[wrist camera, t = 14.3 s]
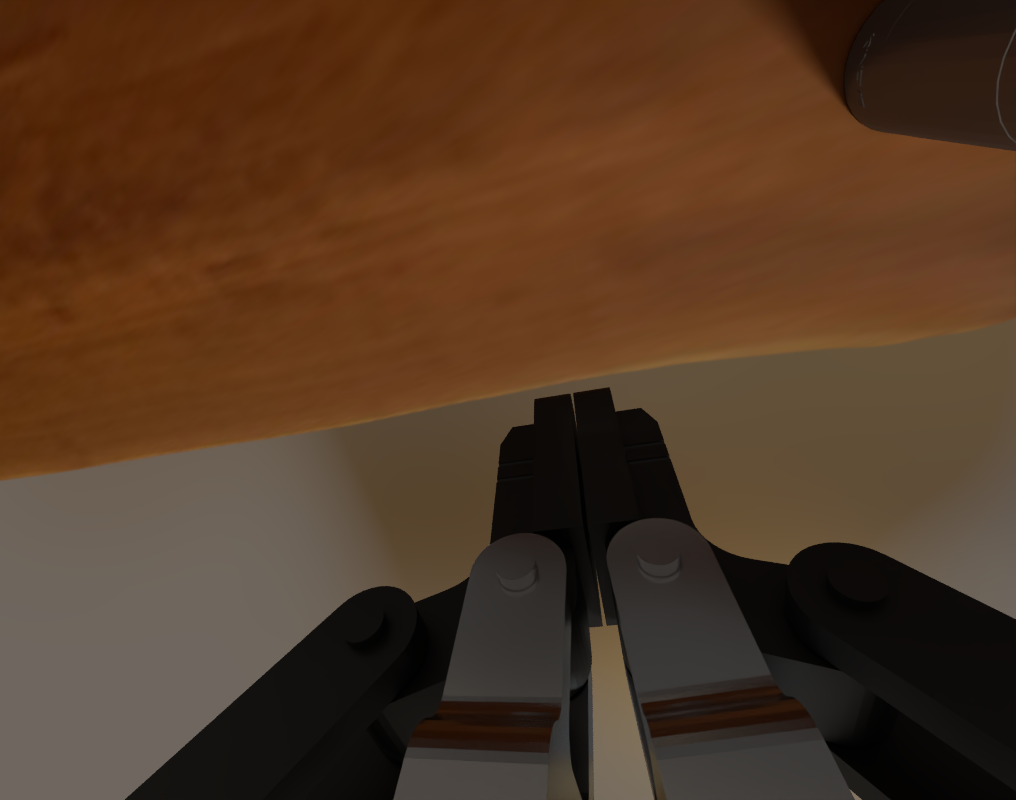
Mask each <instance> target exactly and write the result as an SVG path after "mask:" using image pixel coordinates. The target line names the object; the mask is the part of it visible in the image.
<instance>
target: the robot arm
mask: <svg viewBox="0 0 1016 800" xmlns="http://www.w3.org/2000/svg"><path fill="white" fill-rule="evenodd" d="M844 91H845V95H846V100H847V104H848V106H849V108H850V110H851V112H852V114H853V115H854V116H855V117H856V118H857V120H858V121H859V122H860V123H861V124H863V125H865V126H867V127H868V128H870V129H872V130H876V131H880V132H885V133H892V134H899V135H906V136H912V137H918V138H925V139H932V140H940V141H947V142H954V143H961V144H968V145H975V146H982V147H990V148H997V149H1004V150H1011V151H1016V0H884V1H883V2H882V3H881V4H880V5H879V6H878V7H877V8H876V9H875V10H874V12H873V13H872V14H871V16H870V17H869V18H868V19H867V21H866V22H865V23H864V25H863V27H862V28H861V30H860V32H859V34H858V35H857V37H856V39H855V41H854V43H853V46H852V48H851V51H850V54H849V56H848V60H847V65H846V70H845V76H844ZM573 395H574V405H575V413H576V421H575V415H574V410H573V404H572V399H571V394H564V395H558V396H551V397H546V398H539V399H535V401H534V424H531V425H524V426H518V427H513V428H512V429H511V430H510V432H509V433H508V435H507V436H506V438H505V439H504V441H503V442H502V444H501V446H500V456H499V467H498V475H497V481H498V482H497V484H496V495H495V503H494V513H493V522H492V533H491V541H490V545H489V546H488V547H486V549H484V550H483V551H482V552H481V553H480V555H479V556H478V557H477V559H476V560H475V562H474V564H473V566H472V569H471V573H470V577H468V578H467V579H466V580H465V581H463V582H461V583H460V584H458V585H456V586H454V587H452V588H450V589H448V590H445V591H443V592H440V593H438V594H436V595H433V596H430V597H428V598H426V599H423V600H420V601H418V602H415V603H414V601H413V600H412V598H411V597H410V596H409V595H408V594H407V593H406V592H405V591H403V590H401V589H399V588H395V587H390V586H381V587H375V588H371V589H368V590H365V591H362V592H361V593H358V594H356V595H355V596H353V597H351V598H350V599H348V600H347V601H346V602H344V603H343V604H342V605H341V606H340V607H339V608H337V609H336V610H335V611H334V612H333V613H332V614H331V615H330V616H328V617H327V618H326V619H325V620H324V621H323V622H322V623H321V624H320V625H318V626H317V627H316V628H315V629H314V630H313V631H312V632H311V633H310V634H309V635H307V636H306V637H305V638H304V639H303V640H302V641H301V642H300V643H298V644H297V645H296V646H295V647H294V648H293V649H292V650H291V651H290V652H288V653H287V654H286V655H285V656H284V657H283V658H282V659H281V660H280V661H278V662H277V663H276V664H275V665H274V666H273V667H272V668H271V669H270V670H268V671H267V672H266V673H265V674H264V675H263V676H262V677H261V678H260V679H258V680H257V681H256V682H255V683H254V684H253V685H252V686H251V687H249V689H247V690H246V691H245V692H244V693H243V694H242V695H241V696H239V697H238V698H237V699H236V700H235V701H234V702H233V703H232V704H231V705H230V706H229V707H227V708H226V709H225V710H224V711H223V712H222V713H221V714H219V715H218V716H217V717H216V718H215V719H214V720H213V721H212V722H211V723H209V724H208V725H207V726H206V727H205V728H204V729H203V730H202V731H201V732H199V733H198V734H197V735H196V736H195V737H194V738H193V739H192V740H191V741H189V743H187V744H186V745H185V746H184V747H183V748H182V749H181V750H180V751H178V752H177V753H176V754H175V755H174V756H173V757H172V758H171V759H169V760H168V761H167V762H166V763H165V764H164V765H163V766H162V767H161V768H159V769H158V770H157V771H156V772H155V773H154V774H153V775H152V776H151V777H150V778H148V779H147V780H146V781H145V782H144V783H143V784H142V785H141V786H140V787H138V788H137V789H136V790H135V791H134V792H133V793H132V794H131V795H130V796H128V797H127V798H126V799H125V800H594V778H593V777H594V774H593V773H594V772H593V710H592V709H593V708H592V707H593V704H592V673H591V664H592V654H591V643H590V633H589V627H599V626H603V625H602V616H601V608H600V599H599V590H598V582H599V587H600V592H601V597H602V603H603V608H604V613H605V619H606V624H607V626H608V625H618V630H619V636H620V641H621V647H622V654H623V659H624V664H625V670H626V676H627V681H628V685H629V690H630V695H631V699H632V703H633V707H634V712H635V717H636V721H637V726H638V730H639V735H640V739H641V743H642V748H643V752H644V757H645V761H646V766H647V770H648V774H649V779H650V783H651V788H652V792H653V796H654V800H855V799H854V797H853V795H852V793H851V791H850V790H852V791H853V792H854V793H855V794H856V795H857V796H859V797H860V798H861V799H862V800H1016V619H1014V618H1012V617H1010V616H1008V615H1006V614H1004V613H1002V612H1000V611H998V610H996V609H994V608H991V607H990V606H988V605H986V604H984V603H982V602H980V601H978V600H976V599H973V598H972V597H969V596H967V595H965V594H963V593H961V592H959V591H957V590H955V589H953V588H951V587H949V586H947V585H945V584H943V583H941V582H939V581H937V580H935V579H933V578H931V577H929V576H927V575H925V574H923V573H921V572H919V571H917V570H915V569H913V568H911V567H909V566H907V565H905V564H903V563H901V562H899V561H897V560H895V559H893V558H890V557H888V556H887V555H884V554H882V553H880V552H877V551H875V550H873V549H869V548H866V547H863V546H859V545H854V544H849V543H838V542H837V543H822V544H817V545H813V546H810V547H808V548H806V549H804V550H802V551H800V552H799V553H798V554H797V555H796V556H795V557H794V558H793V559H792V561H791V562H790V564H789V565H786V564H780V563H773V562H767V561H760V560H754V559H749V558H744V557H740V556H737V555H734V554H731V553H728V552H726V551H724V550H722V549H720V548H718V547H717V546H715V545H713V544H712V543H711V542H709V541H708V540H707V539H705V538H704V537H703V536H702V535H701V534H700V532H699V531H698V530H697V528H696V527H695V525H694V523H693V521H692V519H691V516H690V513H689V511H688V508H687V505H686V502H685V499H684V496H683V493H682V491H681V488H680V485H679V482H678V479H677V476H676V473H675V471H674V468H673V465H672V462H671V459H670V458H669V454H668V451H667V448H666V445H665V444H664V439H663V436H662V434H661V431H660V428H659V425H658V422H657V421H656V420H655V419H653V418H652V417H651V416H650V415H649V414H648V413H646V412H645V411H644V410H643V409H642V408H637V409H631V410H624V411H617V412H615V408H614V404H613V400H612V395H611V391H610V388H609V387H608V388H601V389H595V390H589V391H582V392H577V393H573ZM576 423H577V426H576ZM596 571H597V573H596ZM597 576H598V582H597Z"/></svg>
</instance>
